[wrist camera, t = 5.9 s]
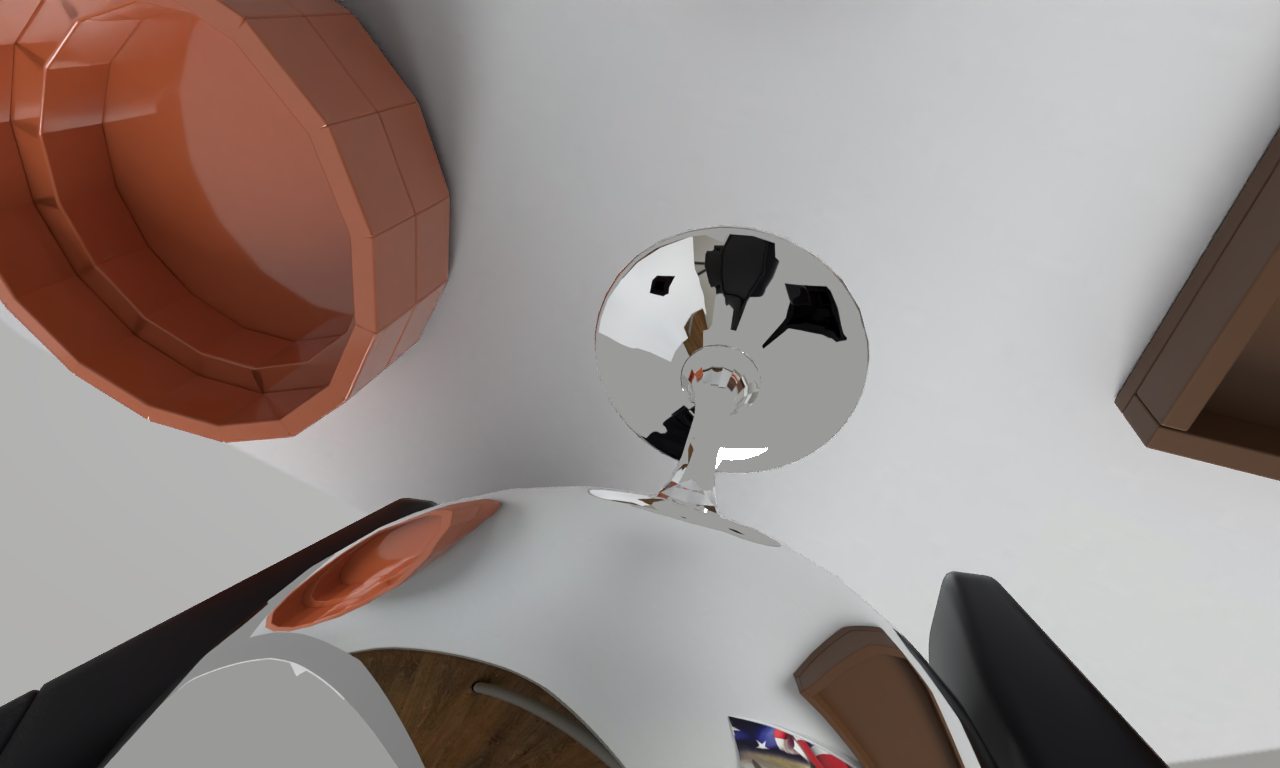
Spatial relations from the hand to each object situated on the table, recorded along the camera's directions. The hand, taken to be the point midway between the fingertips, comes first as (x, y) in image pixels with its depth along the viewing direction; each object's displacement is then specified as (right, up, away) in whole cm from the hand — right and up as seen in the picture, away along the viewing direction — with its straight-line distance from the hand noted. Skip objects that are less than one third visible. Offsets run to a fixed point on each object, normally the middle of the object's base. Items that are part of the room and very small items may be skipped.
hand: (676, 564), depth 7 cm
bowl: (-11, +8, +13) cm, 19 cm away
